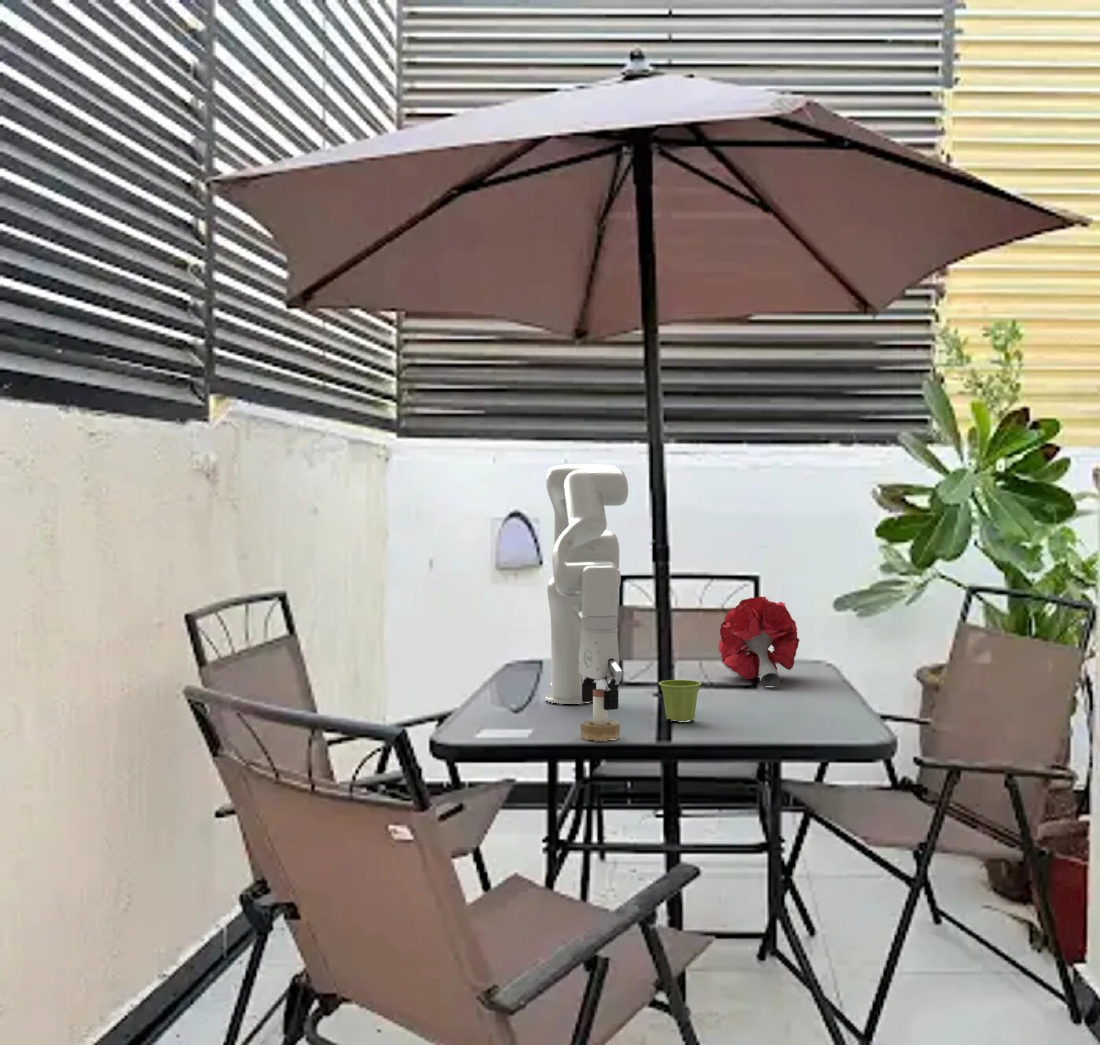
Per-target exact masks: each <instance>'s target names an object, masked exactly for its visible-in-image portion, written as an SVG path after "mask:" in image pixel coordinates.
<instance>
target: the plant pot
mask: <svg viewBox="0 0 1100 1045" xmlns="http://www.w3.org/2000/svg"><path fill="white" fill-rule="evenodd" d="M658 685H659V686H660V688H661V692H662V694H663V695H662V697H663V703H664V709H665V716H666V720H667V719H671V720H676V721H687V720H693V719H694V720H695V716H696V708H697V699H698V692H699V691H700V686H701V685H702V682H701V681H699V680H693V679H692V680H691V679H670V680H661V681H659V682H658Z"/></svg>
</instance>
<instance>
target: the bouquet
mask: <svg viewBox="0 0 1100 1045" xmlns="http://www.w3.org/2000/svg"><path fill="white" fill-rule="evenodd" d="M723 620H724V621H723V622H722V623H721V624H720V628H719V635H720V641H719V642H718V652H719V653H720V654H721V659H722V660H721V662H722V664H723V665H725V666H726V667H727V668H728V669H730V670H731V671H732V672H733V673H737V675H738V676H740V677H742V678H744V679H745V680H747V679H753V680H754V679H756V678H755V676H759V678H760V679H759V682H760V685H761V686H762V687H763V686H775V687H777V686H778V685H779V683H780V680H781V678H780V675H779V672H778V667H777V665H780V666H782V667H783V668H785V669H786V670H788V671H790V670H792V669H793V667H794V665H795V658H796V655H797V650H798V648H799V643H800V638H799V637H798V628H797V623H796V622H797V621H795V620H794V619H793V618H792V615H791V614H790V612H789V610H788V608H787V607H786V603H784V602H782V601H779V602H776V601H775V602H774V601H770V600H769V599H767V597H766V596H755V597H749V598H746V599H741V600H740V602H739V603H738V604H737V605H736V606H735V607H732V608H731V609H730V610H728V612H727V613H726V614H725V617H724V619H723ZM771 646H772V651H771V650H769V648H770V647H771Z"/></svg>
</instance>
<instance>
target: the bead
mask: <svg viewBox="0 0 1100 1045" xmlns="http://www.w3.org/2000/svg"><path fill="white" fill-rule="evenodd" d="M620 727H621V725H620V722H617V721H613V720H608V725H605V726H597V725H593V720H586V721H583V722H581V723H580V738H581V737H583V738H584V739H587V740H594V741H593V742H597V741H604V740H610V739H616V738H617V737H619V736H620V737H621V735H620V734H621V733H620V732H621V730H620ZM584 739H583V740H584ZM587 740H586V741H587Z"/></svg>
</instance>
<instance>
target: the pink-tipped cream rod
mask: <svg viewBox="0 0 1100 1045" xmlns="http://www.w3.org/2000/svg"><path fill="white" fill-rule="evenodd" d="M605 690H606V689H605V688H596V689H594V690H593V703H592V721H593V725H597V726H605V725H608V721H609V719H608V718H609V717H608V715H609V714H608V711H609V710H604V691H605Z"/></svg>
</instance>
